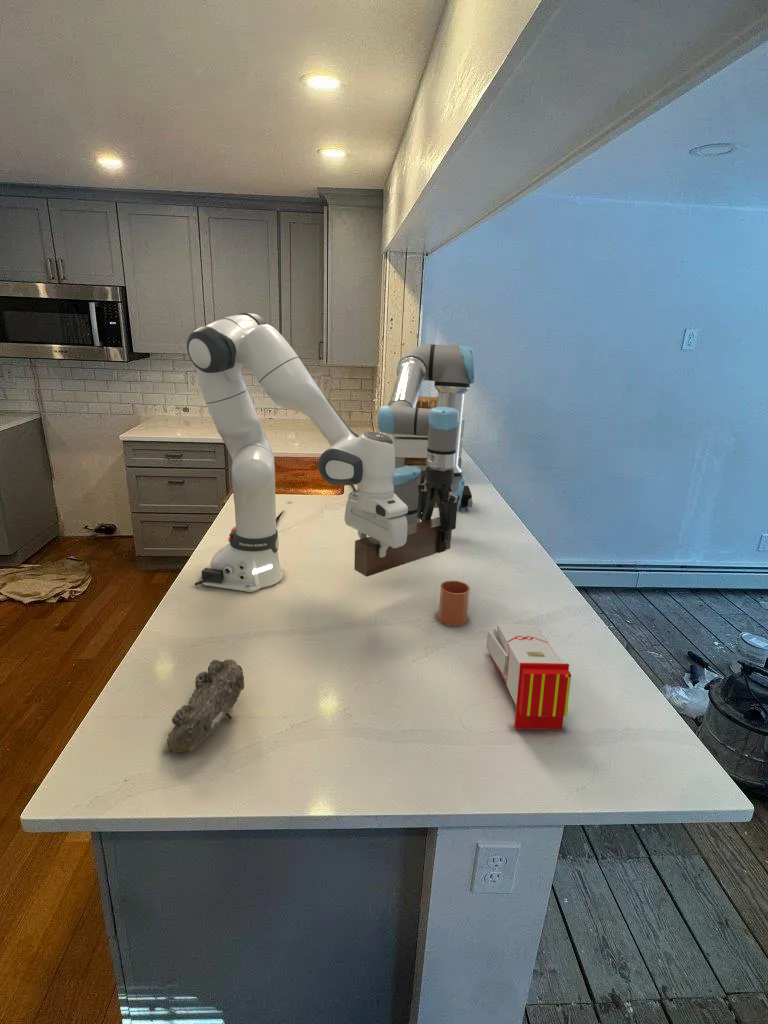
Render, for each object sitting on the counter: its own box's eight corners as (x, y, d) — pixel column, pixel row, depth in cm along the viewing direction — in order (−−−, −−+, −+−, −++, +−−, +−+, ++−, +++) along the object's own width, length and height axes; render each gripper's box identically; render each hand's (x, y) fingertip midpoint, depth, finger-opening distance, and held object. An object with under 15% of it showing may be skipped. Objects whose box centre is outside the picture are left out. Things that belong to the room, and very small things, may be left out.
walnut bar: (354, 569, 143) (354, 540, 140) (437, 542, 162) (439, 516, 159) (366, 577, 140) (367, 547, 137) (450, 548, 158) (452, 521, 155)
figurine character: (472, 516, 224) (466, 500, 237) (474, 499, 220) (469, 483, 234) (455, 515, 224) (451, 499, 237) (457, 498, 220) (452, 483, 234)
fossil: (192, 660, 117) (244, 628, 112) (224, 691, 120) (276, 661, 115) (142, 746, 98) (202, 712, 93) (182, 779, 101) (242, 748, 96)
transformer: (382, 463, 289) (386, 382, 275) (445, 464, 293) (451, 384, 279) (390, 482, 257) (394, 392, 243) (460, 483, 261) (468, 394, 247)
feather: (290, 505, 227) (293, 501, 226) (273, 528, 200) (276, 524, 200) (286, 502, 226) (289, 498, 226) (269, 525, 200) (272, 521, 199)
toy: (533, 609, 133) (580, 670, 104) (528, 661, 136) (573, 736, 107) (482, 608, 133) (514, 669, 103) (478, 661, 135) (509, 735, 106)
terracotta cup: (432, 616, 147) (434, 585, 144) (451, 608, 152) (454, 578, 149) (453, 629, 142) (456, 597, 139) (472, 619, 146) (476, 588, 143)
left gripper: (339, 490, 143) (338, 541, 147) (392, 514, 128) (390, 569, 133) (358, 486, 147) (357, 536, 151) (413, 509, 132) (409, 562, 137)
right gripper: (406, 461, 153) (401, 540, 161) (455, 477, 141) (448, 562, 149) (426, 457, 158) (420, 535, 166) (475, 473, 145) (467, 555, 153)
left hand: (373, 552), depth 142 cm, fingers closed on walnut bar, 5 cm apart
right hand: (433, 547), depth 157 cm, fingers closed on walnut bar, 5 cm apart
